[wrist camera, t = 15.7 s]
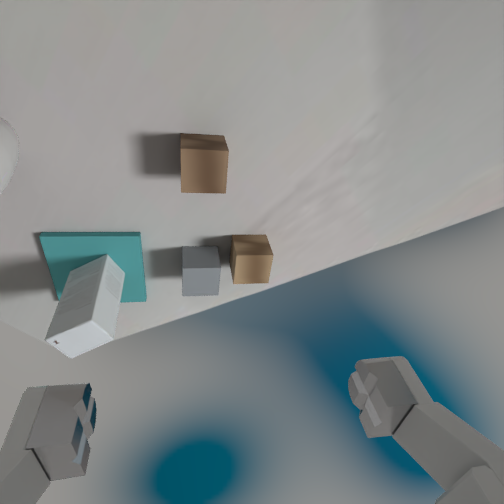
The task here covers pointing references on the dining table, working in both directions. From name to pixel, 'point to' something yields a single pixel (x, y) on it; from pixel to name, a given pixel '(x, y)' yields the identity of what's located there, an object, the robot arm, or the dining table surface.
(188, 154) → the walnut block
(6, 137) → the cup
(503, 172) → the dining table surface
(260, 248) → the light brown wooden cube
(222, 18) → the dining table surface
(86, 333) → the skincare box
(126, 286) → the teal mat
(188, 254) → the slate grey block
